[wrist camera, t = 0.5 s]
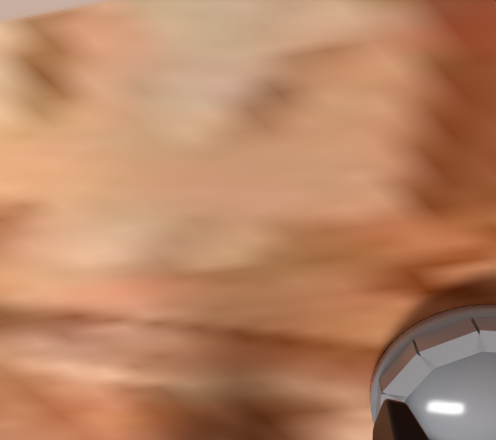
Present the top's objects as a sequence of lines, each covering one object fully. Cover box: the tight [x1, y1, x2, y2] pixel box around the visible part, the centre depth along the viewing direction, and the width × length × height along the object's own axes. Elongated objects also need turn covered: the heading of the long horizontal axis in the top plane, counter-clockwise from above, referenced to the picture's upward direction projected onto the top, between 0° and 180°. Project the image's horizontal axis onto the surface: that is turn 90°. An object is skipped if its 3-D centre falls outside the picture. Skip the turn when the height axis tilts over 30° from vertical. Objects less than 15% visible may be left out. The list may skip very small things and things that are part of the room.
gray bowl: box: [370, 305, 496, 440], centre depth 24 cm, size 12×12×2 cm
